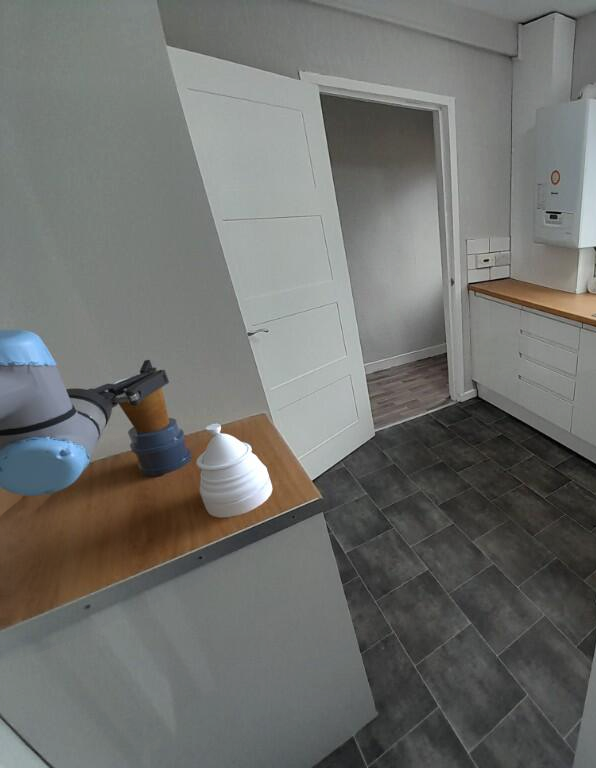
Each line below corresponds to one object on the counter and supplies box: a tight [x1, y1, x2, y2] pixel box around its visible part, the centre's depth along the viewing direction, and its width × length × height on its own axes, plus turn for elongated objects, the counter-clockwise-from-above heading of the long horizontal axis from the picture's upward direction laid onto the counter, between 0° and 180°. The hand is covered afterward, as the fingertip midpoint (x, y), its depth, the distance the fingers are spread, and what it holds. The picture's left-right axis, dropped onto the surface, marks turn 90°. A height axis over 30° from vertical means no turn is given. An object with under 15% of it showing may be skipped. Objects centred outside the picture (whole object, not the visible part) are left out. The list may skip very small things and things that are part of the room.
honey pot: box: [196, 423, 273, 518], centre depth 89 cm, size 13×13×18 cm
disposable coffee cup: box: [112, 375, 170, 433], centre depth 97 cm, size 10×10×12 cm
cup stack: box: [127, 417, 193, 477], centre depth 102 cm, size 10×10×11 cm
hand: (102, 373), depth 76 cm, fingers open, 13 cm apart
